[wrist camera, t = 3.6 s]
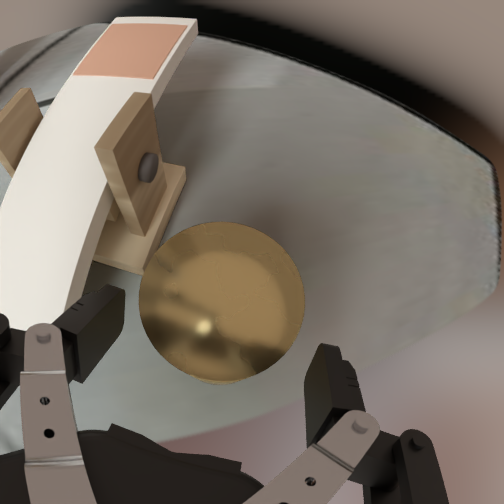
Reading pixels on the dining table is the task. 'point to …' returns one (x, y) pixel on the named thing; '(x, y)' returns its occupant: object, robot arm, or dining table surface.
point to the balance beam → (77, 168)
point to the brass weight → (221, 302)
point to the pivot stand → (113, 176)
